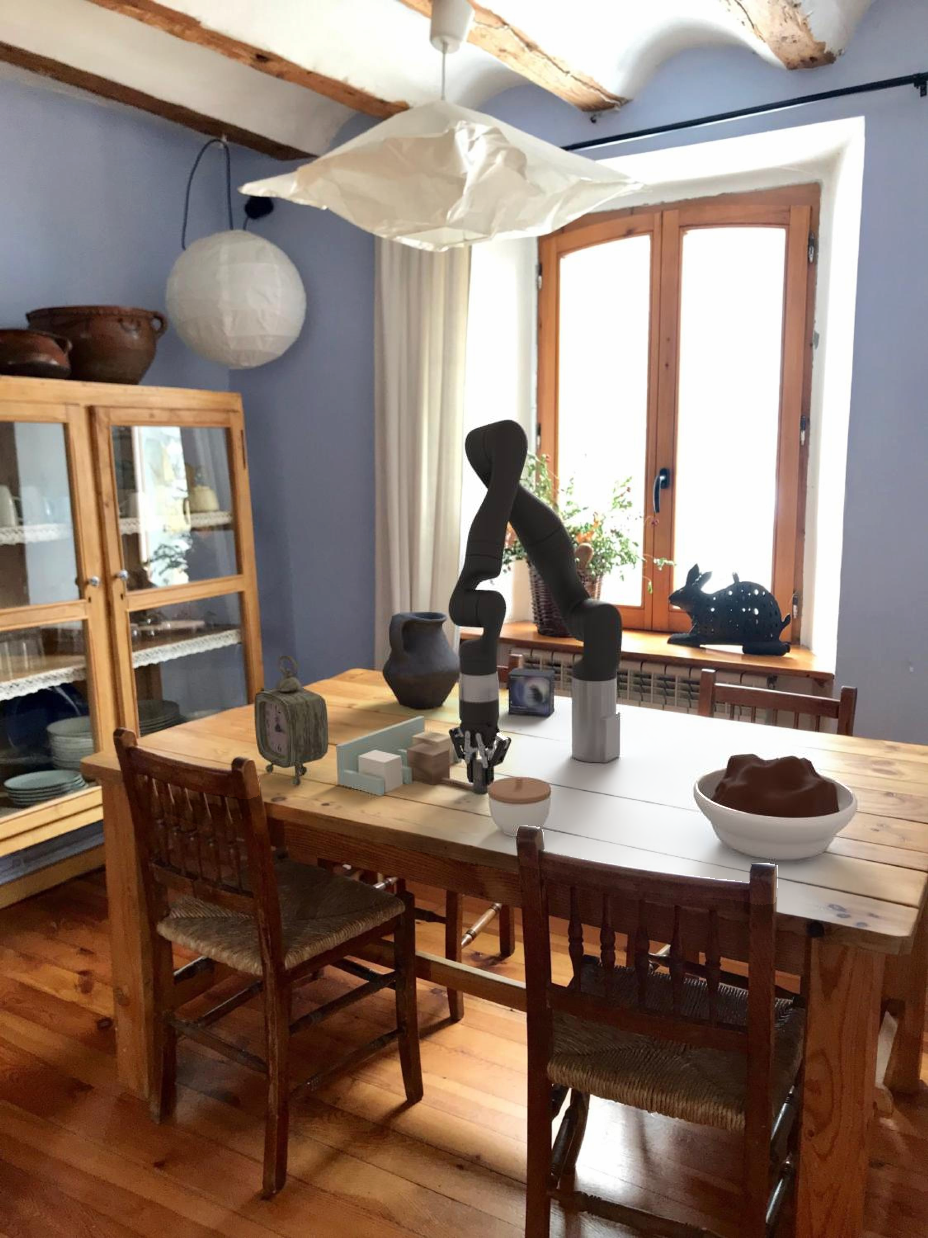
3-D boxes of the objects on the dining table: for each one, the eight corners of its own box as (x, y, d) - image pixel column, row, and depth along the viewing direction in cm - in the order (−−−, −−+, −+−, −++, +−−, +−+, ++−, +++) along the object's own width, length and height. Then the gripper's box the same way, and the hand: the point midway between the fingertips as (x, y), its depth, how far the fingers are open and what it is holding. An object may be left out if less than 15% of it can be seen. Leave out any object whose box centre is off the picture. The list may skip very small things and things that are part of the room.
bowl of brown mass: (790, 896, 138) (794, 796, 135) (660, 841, 158) (661, 753, 155) (886, 851, 152) (892, 760, 150) (756, 806, 172) (758, 725, 170)
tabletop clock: (257, 772, 196) (250, 653, 192) (296, 762, 202) (290, 646, 198) (293, 790, 185) (286, 664, 181) (333, 779, 191) (327, 657, 187)
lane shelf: (461, 761, 201) (461, 724, 199) (379, 796, 181) (378, 755, 180) (421, 751, 208) (420, 716, 206) (337, 784, 188) (336, 745, 187)
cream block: (402, 785, 187) (401, 756, 186) (385, 792, 183) (384, 762, 182) (376, 778, 191) (375, 750, 190) (359, 785, 188) (358, 756, 187)
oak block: (453, 764, 199) (452, 736, 198) (438, 770, 196) (438, 741, 195) (427, 758, 204) (426, 730, 203) (412, 764, 200) (412, 736, 199)
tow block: (493, 789, 183) (493, 759, 182) (478, 797, 180) (478, 766, 179) (423, 771, 194) (422, 743, 193) (407, 778, 191) (406, 749, 190)
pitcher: (478, 700, 249) (476, 606, 245) (431, 721, 231) (428, 619, 227) (413, 691, 260) (410, 600, 256) (363, 710, 242) (360, 613, 238)
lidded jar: (513, 814, 171) (512, 763, 169) (563, 828, 164) (563, 775, 163) (475, 833, 163) (474, 780, 161) (526, 848, 156) (526, 793, 155)
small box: (507, 715, 235) (506, 673, 233) (513, 708, 241) (513, 667, 240) (549, 717, 232) (549, 675, 230) (555, 710, 238) (555, 669, 237)
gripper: (521, 696, 178) (521, 785, 181) (462, 686, 186) (463, 771, 189) (496, 705, 172) (498, 797, 175) (437, 694, 181) (439, 781, 184)
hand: (480, 783), depth 182 cm, fingers closed on tow block, 3 cm apart
